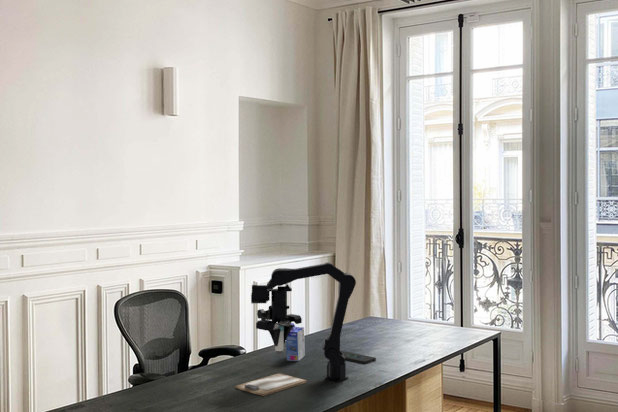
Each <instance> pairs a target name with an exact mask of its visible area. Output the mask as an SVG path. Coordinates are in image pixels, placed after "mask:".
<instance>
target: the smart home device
mask: <svg viewBox="0 0 618 412" xmlns="http://www.w3.org/2000/svg"><path fill="white" fill-rule="evenodd" d="M340 351H341V352H342V353H343V355H344V357H345V361H349V362H352V363H357V364H362V365H366V364H369V363H373V362H375V361H377V358H376V357H374V356H369V355H366V354H365V355H364V354H360V353H355V352H350V351H346V350H341V349H340Z"/></svg>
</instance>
